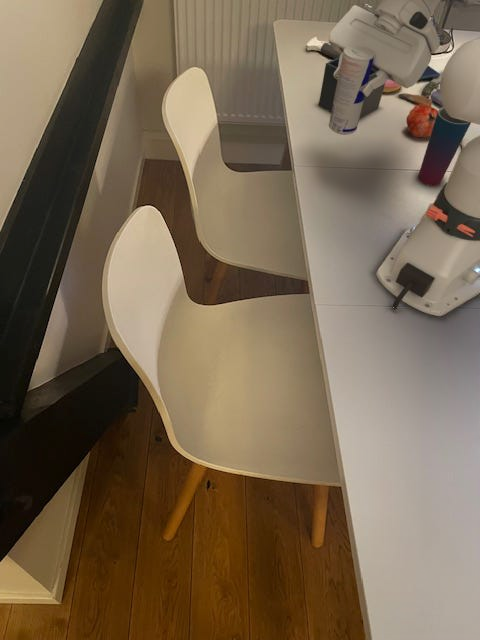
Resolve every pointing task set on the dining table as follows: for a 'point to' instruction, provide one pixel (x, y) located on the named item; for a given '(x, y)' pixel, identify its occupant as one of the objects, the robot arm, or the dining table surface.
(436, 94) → the flask
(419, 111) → the orange-red stemmed round figurine
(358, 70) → the beverage can
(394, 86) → the doughnut
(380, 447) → the dining table surface
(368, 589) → the dining table surface
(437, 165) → the cup
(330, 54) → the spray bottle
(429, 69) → the smartphone
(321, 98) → the trash bin
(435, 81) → the knife
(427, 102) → the stone
